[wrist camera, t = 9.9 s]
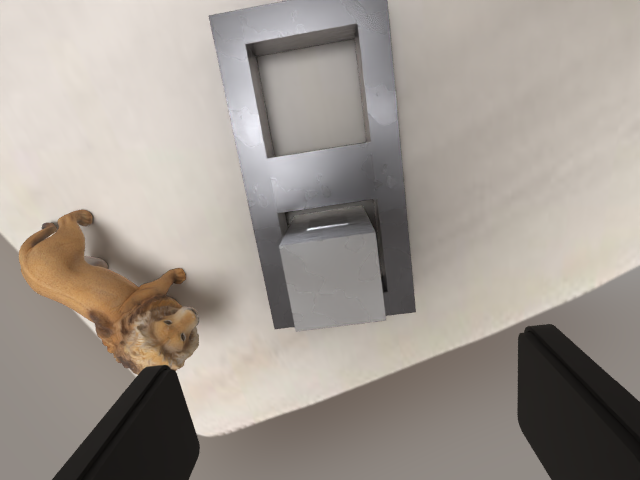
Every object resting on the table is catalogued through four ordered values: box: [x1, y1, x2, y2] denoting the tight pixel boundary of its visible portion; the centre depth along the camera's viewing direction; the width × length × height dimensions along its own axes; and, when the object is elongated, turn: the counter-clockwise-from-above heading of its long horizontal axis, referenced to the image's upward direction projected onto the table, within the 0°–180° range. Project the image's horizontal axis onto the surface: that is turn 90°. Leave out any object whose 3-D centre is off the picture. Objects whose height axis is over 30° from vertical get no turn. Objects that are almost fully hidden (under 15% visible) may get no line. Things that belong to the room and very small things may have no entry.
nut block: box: [279, 205, 386, 331], centre depth 22 cm, size 5×5×8 cm
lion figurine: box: [19, 210, 199, 375], centre depth 23 cm, size 15×5×9 cm, turn 64°
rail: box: [209, 0, 416, 329], centre depth 23 cm, size 10×20×3 cm, turn 9°
